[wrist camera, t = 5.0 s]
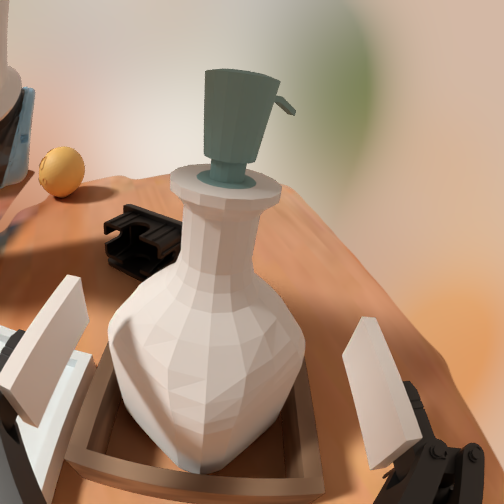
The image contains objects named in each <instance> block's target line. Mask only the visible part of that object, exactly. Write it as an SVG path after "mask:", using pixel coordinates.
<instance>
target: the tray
mask: <svg viewBox="0 0 504 504" xmlns="http://www.w3.org/2000/svg"><path fill="white" fill-rule="evenodd" d="M15 332H17V331H15V330H12V329H9V328H6V327H4V326H1V325H0V353H1V350H2V349H3V347H5V344H6V342H7V341H8V339H9V338H10V336H11V335H13V334H14V333H15ZM95 372H96V366H95V363H94V359H93V356H92V354H88V353H84V352H81V351H77V350H74V351H73V353H72V355H71V357H70V359H69V361H68V363H67V365H66V367H65V369H64V371H63V373H62V375H61V377H60V379H59V382H58V384H57V386H56V388H55V390H54V392H53V395H52V397H51V399H50V401H49V404H48V406H47V408H46V411H45V413H44V415H43V418H42V420H41V423H40V425H39V427H38V428H36V427H34V426H31V425H29V424H27V423H25V422H23V421H22V419H21V418H20V417H19V415H18V416H17V418H16V422H17V424H18V427H19V430H20V434H21V437H22V440H23V443H24V446H25V450H26V452H27V455H28V458H29V461H30V464H31V467H32V469H33V472H34V474H35V477H36V479H37V482H38V484H39V487H40V489H41V491H42V494H43V496H44V498H45V500H46V502H47V504H51V503H52V499H53V496H54V492H55V488H56V484H57V481H58V477H59V474H60V470H61V467H62V464H63V460H64V457H65V454H66V451H67V448H68V445H69V442H70V439H71V436H72V433H73V430H74V427H75V424H76V421H77V418H78V416H79V413H80V410H81V407H82V405H83V402H84V399H85V397H86V394H87V392H88V389H89V387H90V384H91V382H92V379H93V377H94V374H95Z"/></svg>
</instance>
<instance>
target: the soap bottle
mask: <svg viewBox="0 0 504 504" xmlns="http://www.w3.org/2000/svg"><path fill="white" fill-rule="evenodd" d="M279 85H280V81H279V80H277V79H274V78H272V77H269V76H267V75H264V74H260V73H255V72H250V71H243V70H235V69H215V70H207V71H205V99H204V154H205V156H206V157H209V158H211V164H197V165H188V166H184V167H180V168H177V169H176V170H175V171H173V172H171V175H170V190H171V191H172V192H174V193H175V194H176V195H177V196H178V197H179V198H180V199H181V201H182V202H183V204H184V209H183V222H182V237H181V251H180V254H179V256H178V259H177V261H176V262H175V263H174V264H171V265H169V266H167V267H166V268H164V269H162V270H161V271H159V272H157V273H155V274H154V275H152V276H151V277H149V278H148V279H147V280H145V281H144V282H142V283H141V284H140V285H139V286H138V287H137V289H136V290H135V291H134V292H133V294H132V295H131V296H130V297H129V298H128V299H127V300H126V301H125V302H124V303H123V304H122V305H121V306H120V308H119V309H118V310H117V311H116V312H115V314H114V315H113V317H112V319H111V320H110V322H109V327H108V338H109V347H110V352H111V357H112V361H113V365H114V369H115V373H116V376H117V380H118V384H119V387H120V391H121V394H122V398H123V401H124V404H125V407H126V410H127V411H128V412H129V413H130V415H131V416H132V417H133V418H134V419H135V421H136V422H137V423H138V424H139V425H140V426H141V428H142V429H143V430H144V431H145V432H146V433H147V434H148V436H149V437H150V438H151V439H152V440H153V441H154V442H155V443H156V444H157V445H158V447H159V448H160V449H161V450H162V451H163V452H164V453H165V454H166V455H167V456H168V457H169V458H170V459H171V460H172V461H173V462H174V463H175V464H176V465H177V466H178V467H179V468H181V469H183V470H185V471H188V472H190V473H196V474H204V475H206V474H210V473H213V472H217V471H220V470H221V469H223V468H224V467H225V466H226V465H227V464H229V463H230V462H231V461H232V460H233V459H235V458H236V457H237V456H238V455H239V454H240V453H241V452H243V451H244V450H245V449H246V448H247V447H248V446H249V445H250V444H252V443H253V442H254V441H255V440H256V439H257V438H258V437H259V436H260V435H261V434H262V433H264V432H265V431H266V430H267V429H268V428H269V427H270V426H271V425H272V424H273V423H274V422H275V421H276V419H277V417H278V415H279V413H280V411H281V409H282V407H283V405H284V403H285V401H286V399H287V397H288V395H289V392H290V390H291V388H292V386H293V384H294V382H295V379H296V377H297V375H298V373H299V371H300V368H301V366H302V362H303V358H304V353H305V338H304V335H303V333H302V330H301V328H300V326H299V325H298V323H297V322H296V320H295V319H294V317H293V316H292V314H291V312H290V311H289V309H288V308H287V306H286V305H285V303H284V301H283V300H282V298H281V297H280V296H279V295H278V294H277V293H276V292H275V291H274V289H273V288H272V287H271V286H270V285H268V284H267V283H266V282H265V281H264V280H263V279H261V278H260V277H259V276H258V275H257V274H255V273H254V269H253V263H252V255H253V250H254V245H255V240H256V234H257V229H258V224H259V219H260V215H261V214H262V213H263V212H264V211H265V210H266V209H268V208H270V207H272V206H274V205H276V204H278V203H279V200H280V195H281V189H282V186H281V185H280V184H279V183H278V182H277V181H276V180H274V179H272V178H270V177H268V176H266V175H264V174H262V173H258V172H255V171H252V170H249V169H246V165H247V163H253V162H255V160H256V157H257V154H258V151H259V148H260V144H261V141H262V138H263V135H264V132H265V129H266V125H267V122H268V119H269V116H270V113H271V110H272V107H273V103H274V102H275V103H276V104H277V105H278V106H279V107H281V108H282V109H283V110H284V111H285V112H286V113H287V114H290V115H293V116H295V113H296V110H295V109H294V108H293V107H292V106H291V105H290V104H289V103H288V102H287V101H286V100H285V99H284V98H283V97H281V96H276V94H277V91H278V88H279Z"/></svg>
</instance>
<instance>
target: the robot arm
mask: <svg viewBox="0 0 504 504" xmlns="http://www.w3.org/2000/svg"><path fill="white" fill-rule="evenodd" d="M8 9H9V0H0V189H2V188H4V186H8V185H12V184H16V183H19V182H21V181H22V180H24V178H25V177H26V175H27V172H28V163H29V148H30V135H31V125H32V115H33V108H34V99H35V90H34V89H33V88H27V87H23V88H22V87H21V77H20V75H19V73H18V72H17V71H16V70H15V69H14V68H12V67H10V66H8V65H7V23H8ZM88 323H89V317H88V313H87V308H86V303H85V298H84V293H83V288H82V282H81V277H77V276H72V275H67V276H66V277H65V278H64V279H63V281H62V282H61V283H60V285H59V286H58V287H57V288H56V290H55V291H54V292H53V294H52V295H51V297H50V298H49V299H48V301H47V302H46V303H45V305H44V306H43V308H42V309H41V310H40V312H39V313H38V315H37V316H36V317H35V319H34V320H33V322H32V323H31V325H30V326H29V328H28V329H27V331H23V330H20V329H19V330H18V331H17V332H15V333H14V334H13V335H11V336H10V338H9V339H8V341H7V342H6V344H5V347H3V349H2V350H1V353H0V504H47V502H46V500H45V498H44V496H43V494H42V491H41V489H40V487H39V484H38V482H37V479H36V477H35V474H34V472H33V469H32V467H31V464H30V461H29V458H28V455H27V452H26V450H25V446H24V443H23V440H22V437H21V434H20V430H19V427H18V424H17V422H16V418H17V416H18V415H19V417H20V418H21V419H22V421H23V422H25V423H27V424H29V425H31V426H34V427H36V428H38V427H39V425H40V423H41V420H42V418H43V415H44V413H45V411H46V408H47V406H48V404H49V401H50V399H51V397H52V395H53V392H54V390H55V388H56V386H57V384H58V382H59V379H60V377H61V375H62V373H63V371H64V369H65V367H66V365H67V363H68V361H69V359H70V357H71V355H72V353H73V351H74V349H75V347H76V345H77V343H78V341H79V339H80V338H81V336H82V334H83V332H84V330H85V328H86V326H87V325H88ZM342 358H343V361H344V365H345V369H346V372H347V376H348V380H349V384H350V388H351V391H352V395H353V399H354V403H355V407H356V411H357V415H358V419H359V423H360V428H361V432H362V436H363V440H364V445H365V449H366V454H367V458H368V463H369V468H370V470H374V469H380V468H386V467H387V466H388V465H390V464H391V463H392V462H393V463H394V468H393V469H392V470H390V471H389V472H387V473H386V474H385V475H384V476H383V477H382V478H383V479H384V478H386V477H387V476H388V478H387V480H386V482H385V484H384V485H383V487H382V489H381V491H380V492H379V494H378V496H377V498H376V499H375V501H374V503H373V504H482V499H483V486H484V458H485V457H484V452H483V450H482V448H481V447H480V446H479V445H478V444H476V443H469V444H467V445H466V446H465V447H463V448H462V449H460V448H451V447H447V445H446V444H445V443H444V442H443V441H442V440H439V439H436V438H435V436H434V433H433V431H432V428H431V425H430V422H429V420H428V417H427V414H426V412H425V409H423V407H424V406H423V404H422V401H420V400H421V399H420V396H419V394H418V391H417V389H416V388H415V387H414V386H413V384H412V383H411V382H410V381H402V379H401V377H400V374H399V372H398V369H397V367H396V364H395V362H394V359H393V357H392V355H391V352H390V350H389V347H388V345H387V343H386V340H385V338H384V336H383V334H382V331H381V329H380V327H379V324H378V322H377V320H376V318H375V317H361V319H360V321H359V323H358V325H357V327H356V329H355V331H354V333H353V335H352V337H351V339H350V341H349V343H348V345H347V347H346V349H345V350H344V352H343V354H342ZM453 485H454V486H453Z"/></svg>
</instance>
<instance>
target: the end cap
mask: <svg viewBox="0 0 504 504" xmlns="http://www.w3.org/2000/svg"><path fill="white" fill-rule="evenodd" d="M115 230H118V231H120V234H119V235H118V236H117V237H115V238H114V239H112V240H110V241H108V242H106V243H105V251H106V254H107V256H108V257H109V259H108V264H109V265H110V266H112V267H114V268H116V269H118V270H120V271H122V272H124V273H126V274H128V275H130V276H132V277H134V278H136V279H138V280H140V281H142V282H144V281H145V280H147V279H148V278H149V277H151V276H152V275H154V274H155V273H157V272H159V271H161V270H162V269H164V268H166V267H167V266H169V265H171V264H174V263H175V262H176V261H177V259H178V256H179V254H180V251H181V237H182V222H181V221H178V220H175V219H172V218H169V217H167V216H164V215H161V214H158V213H155V212H152V211H149V210H147V209H144V208H141V207H138V206H135V205H132V204H127V205H124V206H123V214H121V215H119V216H117V217H115V218H113V219H111V220H109V221H107V222H105V223H104V234H105V235H107V234H109V233H111V232H113V231H115Z"/></svg>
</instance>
